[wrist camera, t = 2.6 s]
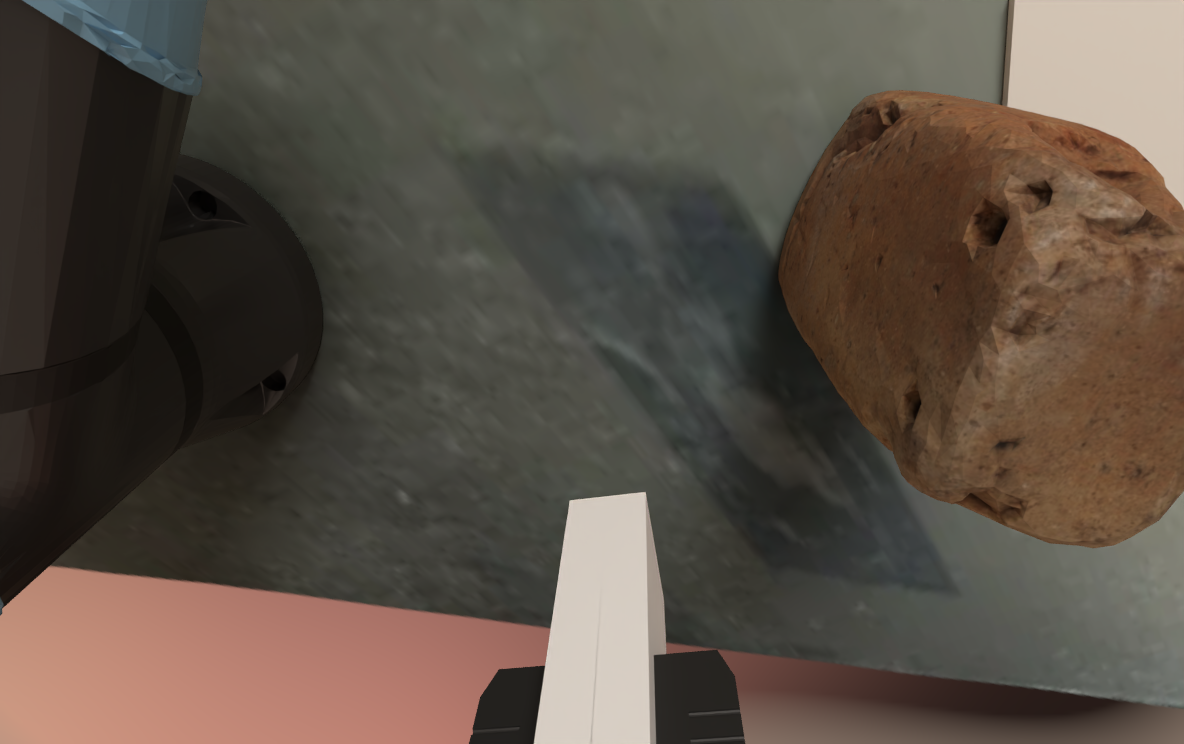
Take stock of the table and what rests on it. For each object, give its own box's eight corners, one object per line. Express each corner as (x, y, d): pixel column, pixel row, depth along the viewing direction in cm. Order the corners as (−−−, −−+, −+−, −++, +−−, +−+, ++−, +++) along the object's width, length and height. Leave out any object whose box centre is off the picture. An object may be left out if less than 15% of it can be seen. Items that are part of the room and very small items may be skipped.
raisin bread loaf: (891, 323, 37) (1142, 596, 18) (755, 287, 36) (876, 529, 18) (993, 111, 32) (1460, 196, 14) (839, 66, 32) (1113, 94, 13)
